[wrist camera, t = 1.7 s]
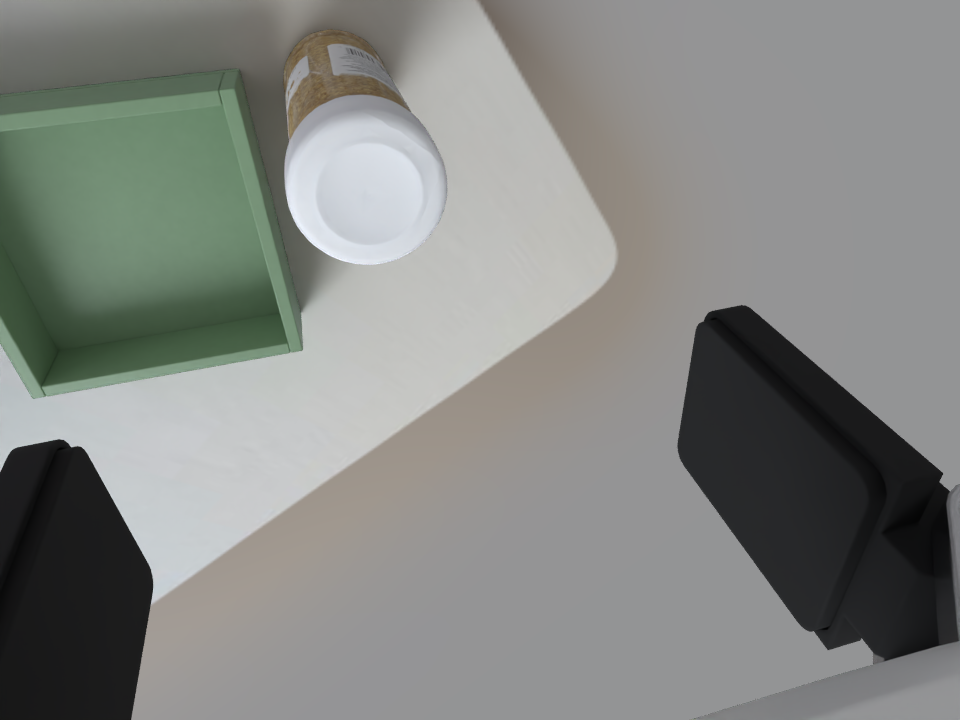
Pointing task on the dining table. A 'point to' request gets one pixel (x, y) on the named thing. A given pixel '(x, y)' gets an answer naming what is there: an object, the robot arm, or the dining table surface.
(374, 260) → the sprinkles bottle
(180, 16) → the dining table surface
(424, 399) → the dining table surface
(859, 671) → the robot arm
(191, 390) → the dining table surface
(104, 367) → the green bin
